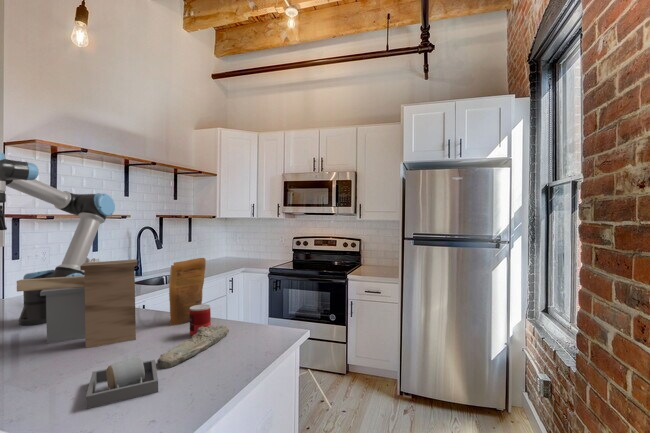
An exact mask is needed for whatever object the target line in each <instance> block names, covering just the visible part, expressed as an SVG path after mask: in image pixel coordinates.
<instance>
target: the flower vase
mask: <svg viewBox="0 0 650 433" xmlns="http://www.w3.org/2000/svg"><path fill="white" fill-rule="evenodd" d="M90 262H100V258H92V259H90V258H89V257H87V259H86V261H85V263H90ZM83 271H84V270H83Z"/></svg>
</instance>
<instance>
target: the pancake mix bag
mask: <svg viewBox="0 0 650 433" xmlns="http://www.w3.org/2000/svg"><path fill="white" fill-rule="evenodd" d="M206 262H207V260H206V258H205V257H198V258H193V259H188V260H182V261H176V262H173V265H171V266H170V272H169V274H170V276H169V280H168V281H169V282H168V295H169V296H168V298H169V299H168V300H169V315H170V322H169V326H180V325H183V324H186V323H187V324H188V323H190V314H189V309H190V307H192V306H195V305H202V303H203V289H204V288H203V287H204V282H205V272H206V265H207V264H206Z"/></svg>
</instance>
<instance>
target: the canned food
mask: <svg viewBox="0 0 650 433" xmlns="http://www.w3.org/2000/svg"><path fill="white" fill-rule="evenodd" d="M211 312H212V311H211V305H210V304H202V305H195V306H192V307H190V309H189V314H190V322H189V334H190V337H192V336H193V335H195V334H196V333H197V330H198V328H199V327H202V326H203V327H207V326H212V323H211V322H212V320H211V319H212V318H211V314H212V313H211Z"/></svg>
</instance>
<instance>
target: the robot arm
mask: <svg viewBox="0 0 650 433" xmlns="http://www.w3.org/2000/svg"><path fill="white" fill-rule="evenodd" d="M38 176H39V167H38V165H37V164H35V163H32V162H28V161H20V160H13V159H9V158H8V159H7V158H6V155H5V153H4V152H1V151H0V204H4V203H6V202H7V194H6V193H5V192H6V191H7V188H6V187H8V188H10V189H13V190H15V191H18V192H20V193H23V194H26V195H28V196H30V197H32V198H35V199H38V200H41V201H43V202H45V203H47V204H50V205H53V206H54V208H56V210H57V209H58V210H59V211H63V212H66V213H68V214H70V215H73V216H76V217H79V222H78V224H77V226H76V228H75V231H74V234H73V235H72V238H71V241H70V243H69V245H68V248H67V250H66V252H65V255H64V258H63V259H62V262H61V264H60V265H57V266H55V269H49V270H48V269H47V270H41V271H36V272H29V273H26V274H24V276H23V279H22V280H24V279H40V278H56V277H73V276H84V271H83V270H81V269H80V266H81V265H82V264H84V263H85V261H86V259H87V258H88V256H89V253H90V251H91V248H92V246H93V242H94V241H95V238H96V236H97V232H98V230H99V228H100V225H101V224H103V223H105V221H106V219H107V217H111V216H112V215H113V214H114V212H115V210H116V205H115V202H114V199H113V198H112V196H110V195H109V194H107V193H100V192H97V193H84V194H83V193H81V194H80V193H78V194H77V193H73V192H69V191H67V190H64V191H62V190H61V189H58V188H55V187H54V186H51V185H49V184H47V183H44V182H42V181H41V180H40V181H39V180H37V177H38ZM3 207H4V206H3V205H0V247H5V231H7V230H8V228H7V226H6V221H5V215H4V211H3V210H4V208H3ZM41 291H42V290H32V291H22V293H23V307H22V310H21V313H20V316H19V318H18V325H20V326H33V325H41V324H47V320H46V295H45V296H40V292H41Z"/></svg>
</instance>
